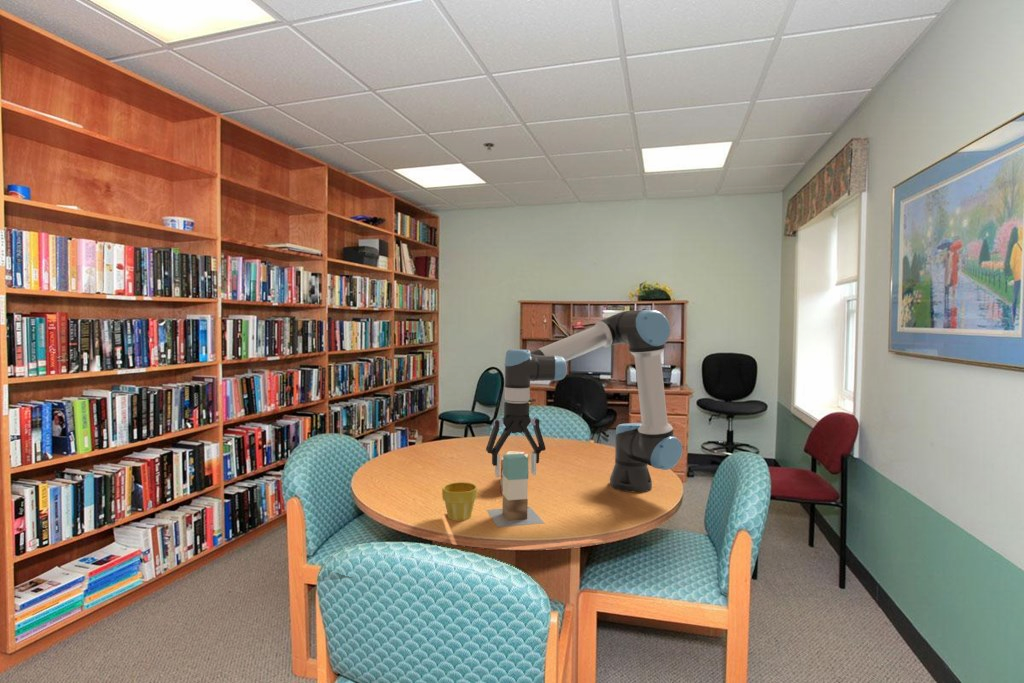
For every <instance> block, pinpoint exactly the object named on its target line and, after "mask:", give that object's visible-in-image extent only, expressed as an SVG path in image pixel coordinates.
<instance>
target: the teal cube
mask: <svg viewBox="0 0 1024 683" xmlns="http://www.w3.org/2000/svg"><path fill="white" fill-rule="evenodd" d="M502 455H503V456H502V458H503V475H504V476H505V477H506V478H507V479H508V480H518V479H528V480H529V474H528V462H529V458H527V457H526V456H525V455H523V454H507V453H506V454H502Z"/></svg>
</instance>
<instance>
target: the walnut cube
mask: <svg viewBox="0 0 1024 683" xmlns="http://www.w3.org/2000/svg"><path fill="white" fill-rule="evenodd" d="M528 500H529V499H528V498H527V499H520V500H507V499H506V498H505V496H504V495H503V494H502V508H501V509H502V514H503V515H504V516H505V518H506V519H507V521H511V520H523V519H527V508H528V507H529V506H528V505H529V504H528V502H529V501H528Z"/></svg>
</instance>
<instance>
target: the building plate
mask: <svg viewBox="0 0 1024 683" xmlns="http://www.w3.org/2000/svg"><path fill="white" fill-rule="evenodd" d="M486 512H487V513H488V515H489V516H490V518H491V519H492V521H493V523H494V524H495V525H496V527H497V528H508V527H516V526H517V527H518V526H527V525H528V526H529V525H538V524H539V525H540V524H545V521H544V520H542V518H541V517H540V516H539V515H538V514H537V512H536V511H534V509H533V508H532V507H531V506H528V508H527V519H523V520H511V521H507V519H506V518H505V516H504V515H503V514H502V508H494V509H486Z"/></svg>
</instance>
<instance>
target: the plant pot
mask: <svg viewBox="0 0 1024 683" xmlns="http://www.w3.org/2000/svg"><path fill="white" fill-rule="evenodd" d="M441 491H442V493H441V494H442V500H443V501H444V504H445V508H446V513H447V518H448V519H450V520H452V521H461V522H462V521H467V520H469V519H471V518H472V515H473V512H474V510H473V509H474V505H475V501H476V500H477V498H478V487H477V485H476V484H475V483H471V482H467V481H465V482H464V481H463V482H462V481H458V482H457V481H456V482H449V483H447V484H445V485H443V486H442V489H441Z"/></svg>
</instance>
